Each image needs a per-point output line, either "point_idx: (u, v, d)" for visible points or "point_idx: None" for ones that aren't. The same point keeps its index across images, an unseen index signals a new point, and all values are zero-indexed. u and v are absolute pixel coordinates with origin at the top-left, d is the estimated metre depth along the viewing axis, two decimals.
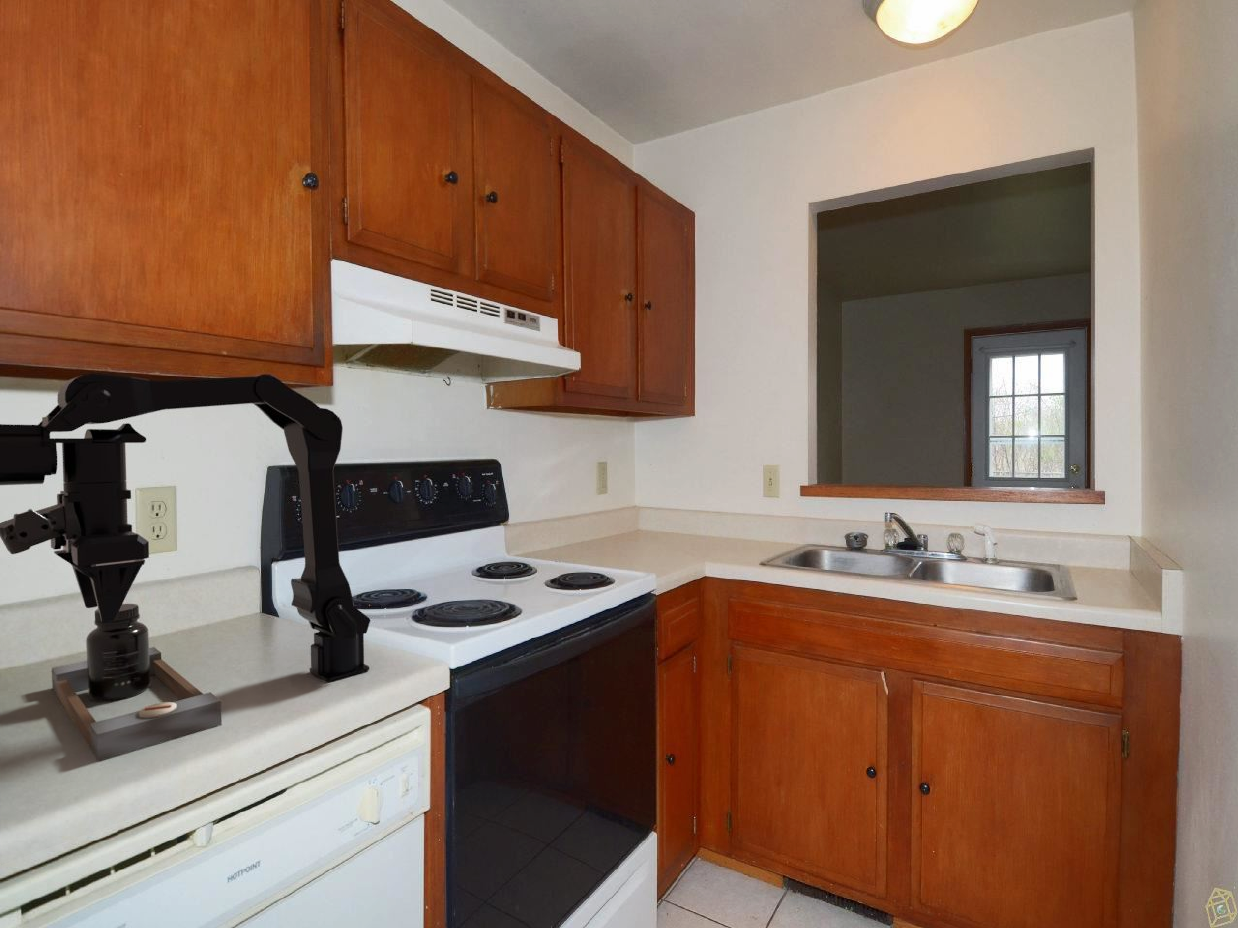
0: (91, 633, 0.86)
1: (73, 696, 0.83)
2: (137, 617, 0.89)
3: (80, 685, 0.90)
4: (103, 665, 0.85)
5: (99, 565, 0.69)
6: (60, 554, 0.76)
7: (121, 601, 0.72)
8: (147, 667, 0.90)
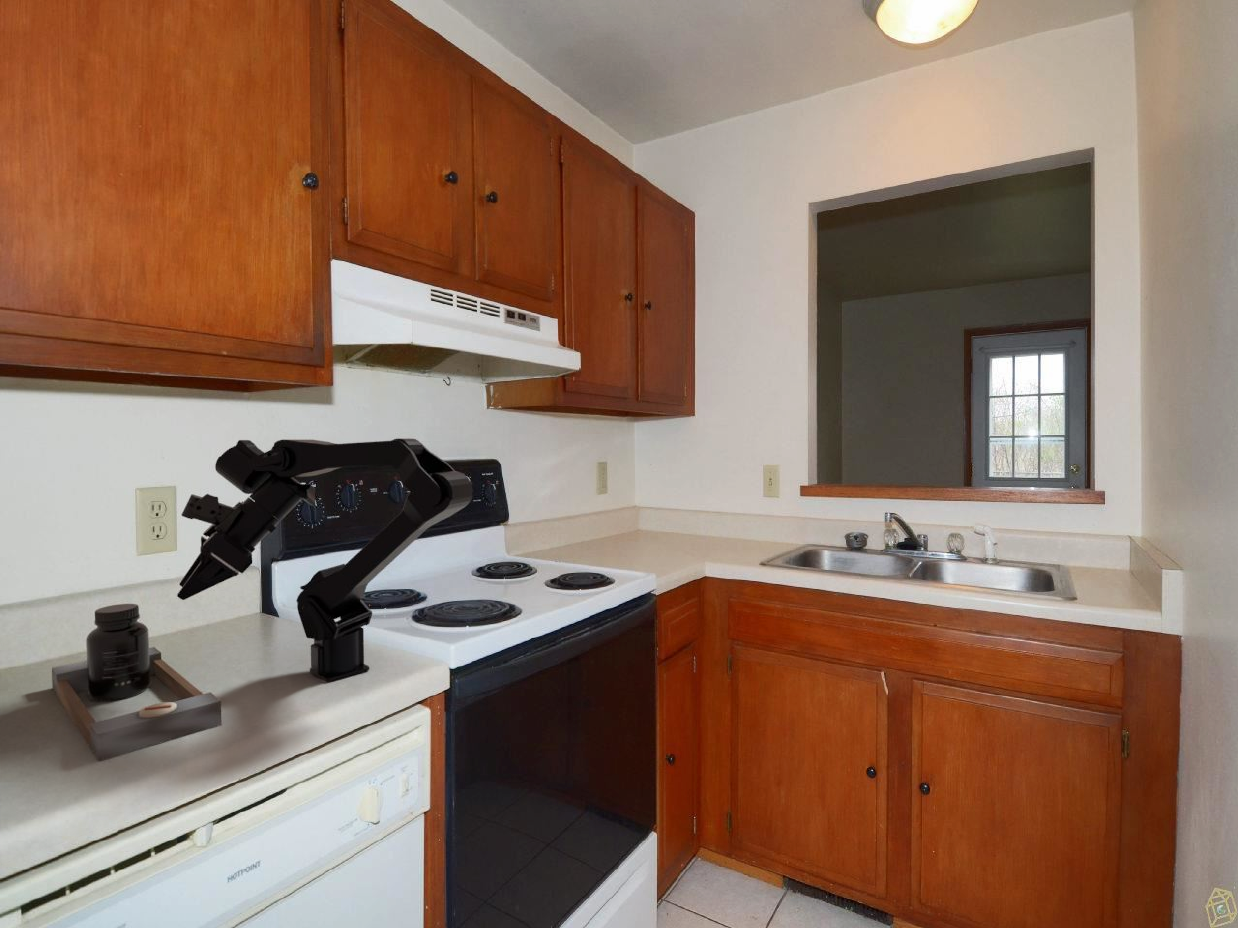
0: (91, 633, 0.86)
1: (73, 696, 0.83)
2: (137, 617, 0.89)
3: (80, 685, 0.90)
4: (103, 665, 0.85)
5: (213, 556, 0.87)
6: (202, 539, 0.98)
7: (199, 590, 0.89)
8: (147, 667, 0.90)
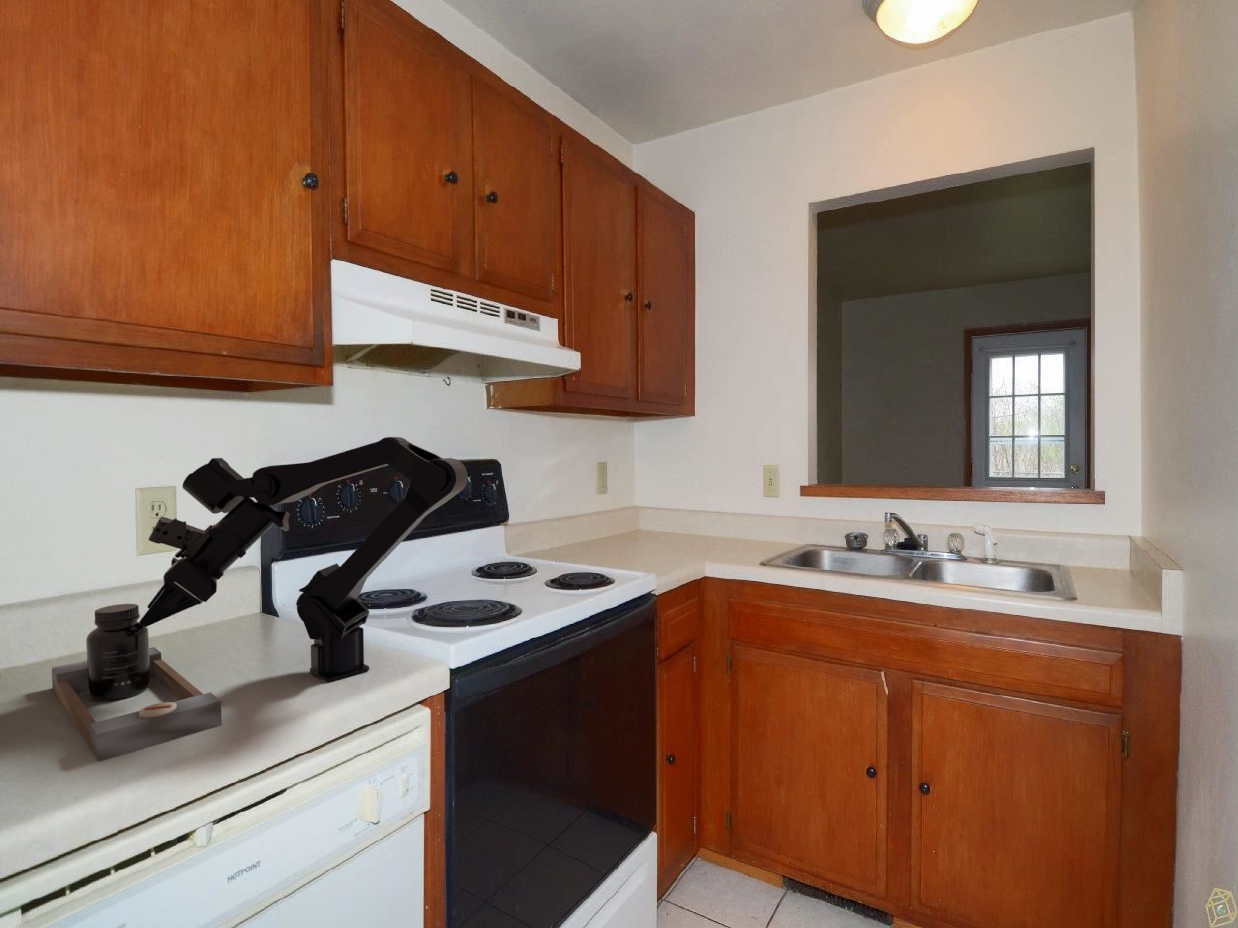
0: (91, 633, 0.86)
1: (73, 696, 0.83)
2: (137, 617, 0.89)
3: (80, 685, 0.90)
4: (103, 665, 0.85)
5: (176, 583, 0.85)
6: (173, 561, 0.96)
7: (162, 618, 0.87)
8: (147, 667, 0.90)
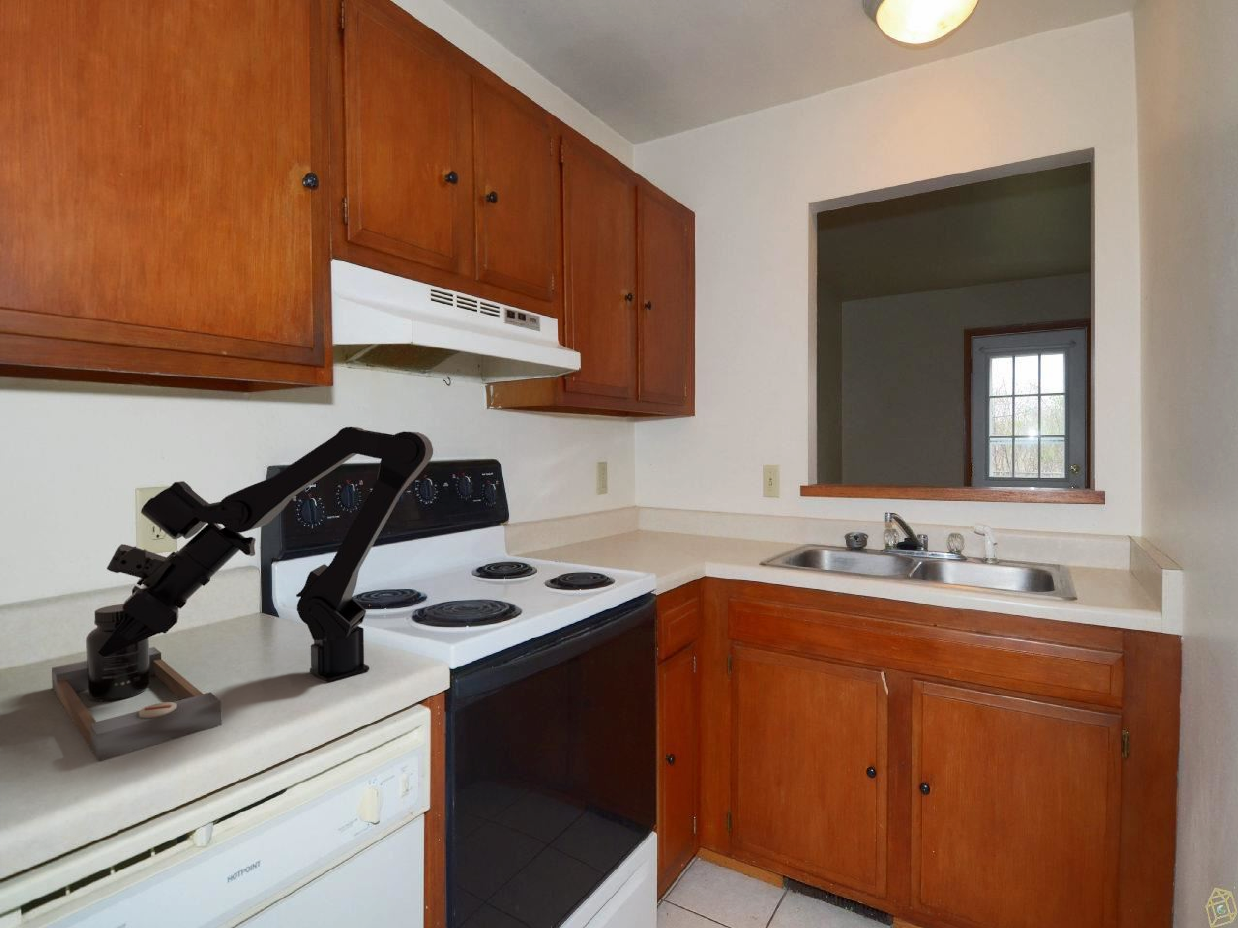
0: (91, 633, 0.86)
1: (73, 696, 0.83)
2: None
3: (80, 685, 0.90)
4: (103, 665, 0.85)
5: None
6: (134, 590, 0.93)
7: (122, 647, 0.85)
8: (147, 667, 0.90)
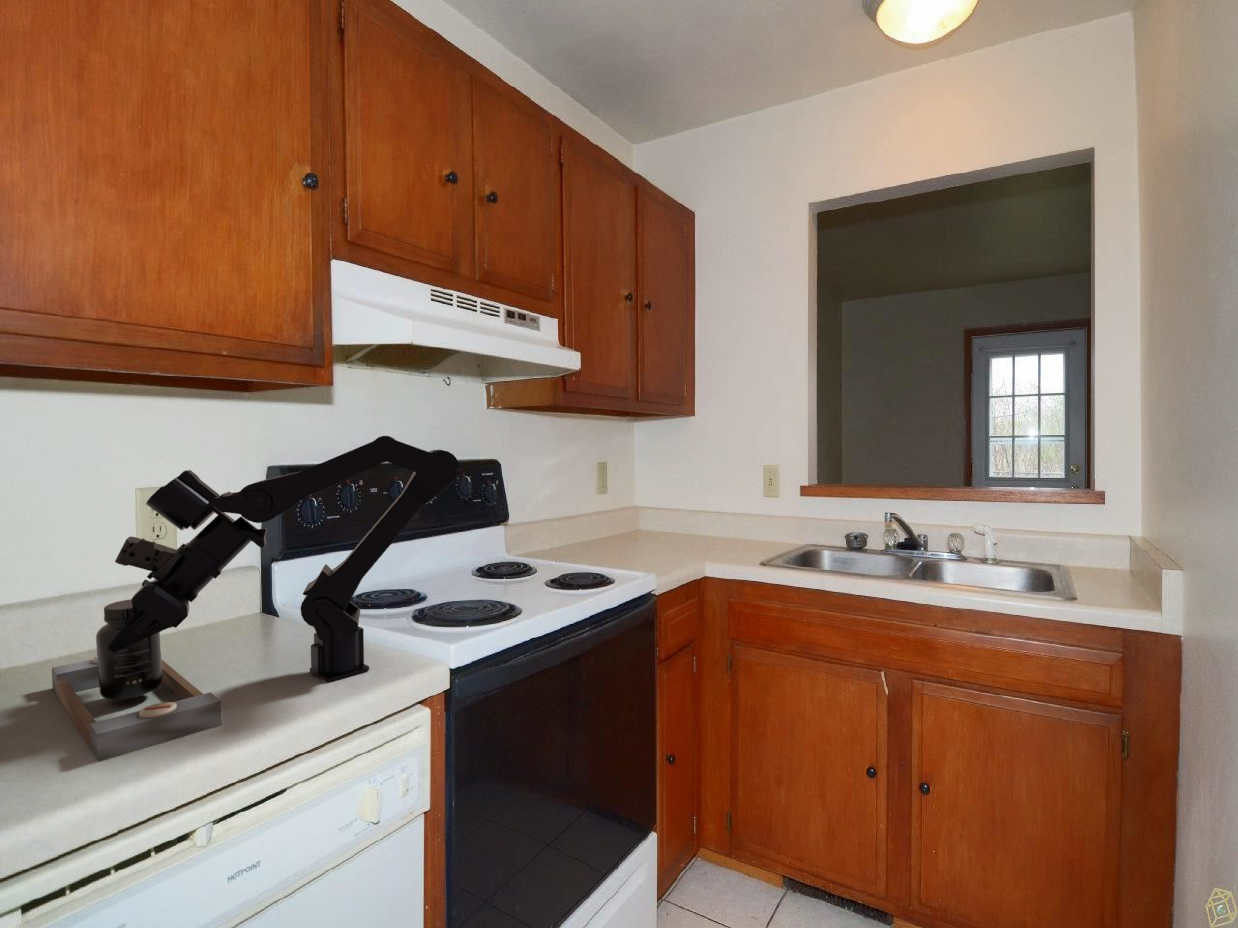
0: (101, 630, 0.83)
1: (73, 696, 0.83)
2: None
3: (80, 685, 0.90)
4: (114, 664, 0.83)
5: None
6: (144, 584, 0.90)
7: (132, 642, 0.83)
8: (159, 664, 0.87)
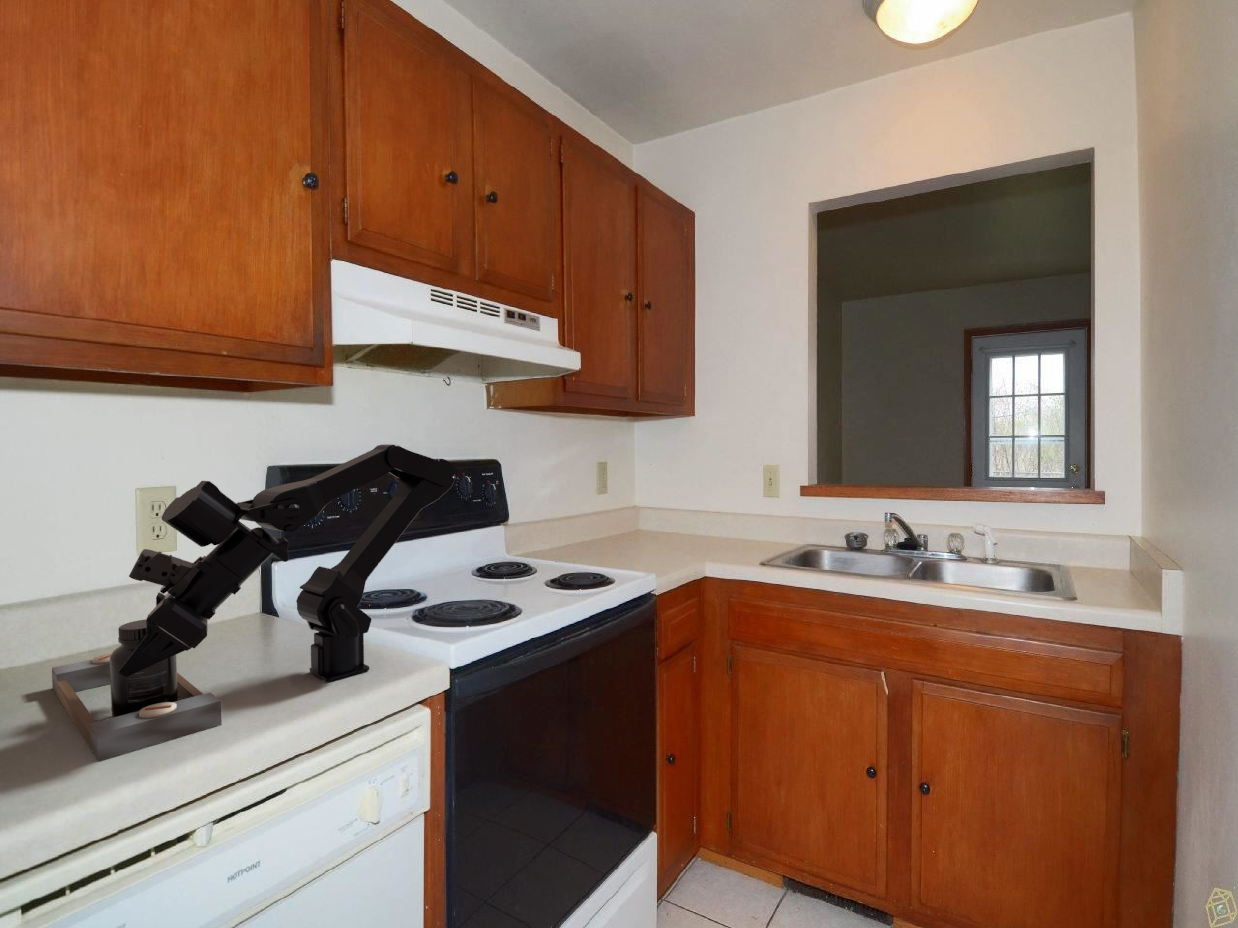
0: (115, 652, 0.79)
1: (73, 696, 0.83)
2: None
3: (80, 685, 0.90)
4: (129, 688, 0.78)
5: (160, 628, 0.75)
6: (158, 597, 0.85)
7: (145, 666, 0.76)
8: (175, 688, 0.82)
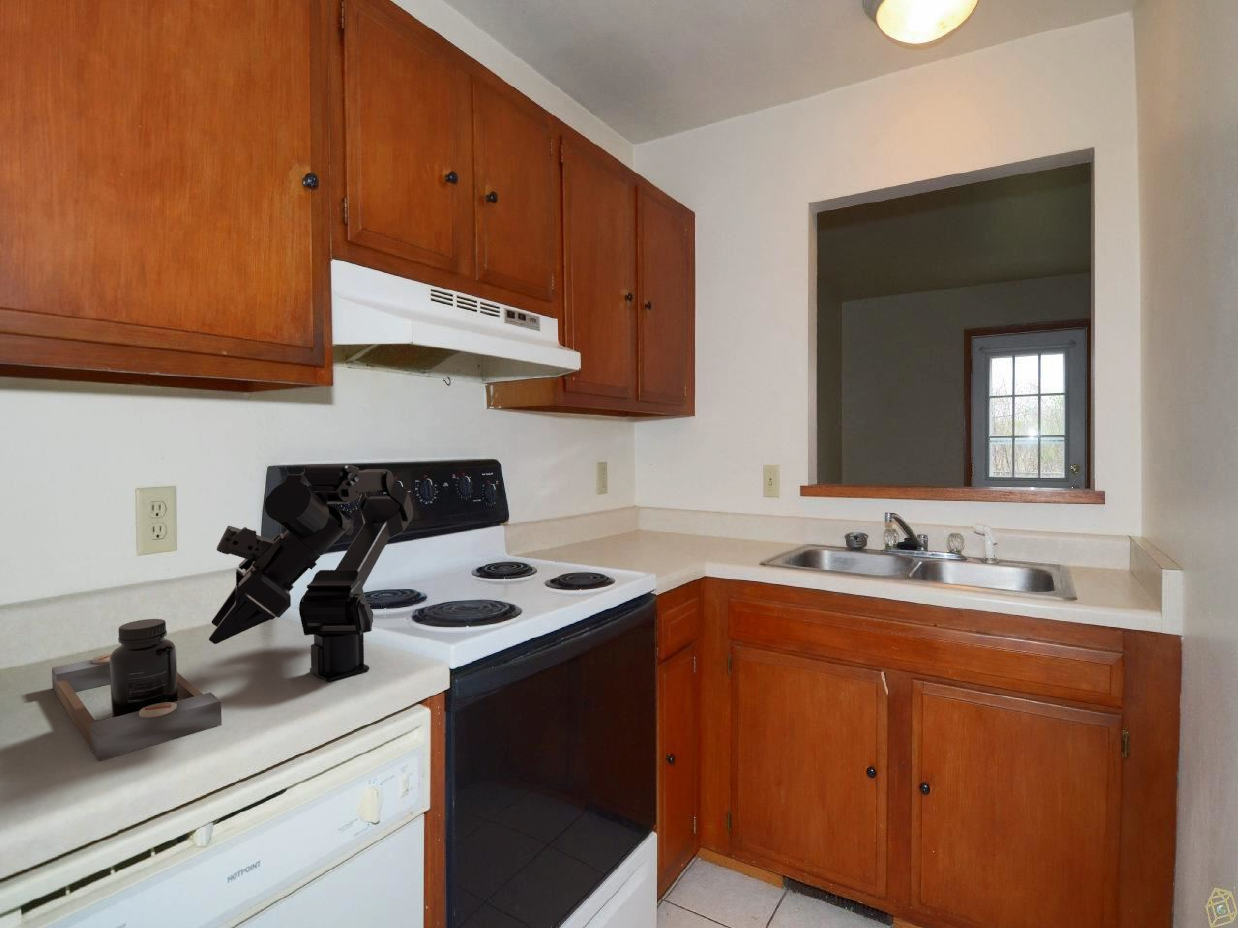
0: (115, 652, 0.79)
1: (73, 696, 0.83)
2: (164, 634, 0.81)
3: (80, 685, 0.90)
4: (129, 688, 0.78)
5: (249, 597, 0.79)
6: (238, 573, 0.90)
7: (233, 634, 0.81)
8: (175, 688, 0.82)
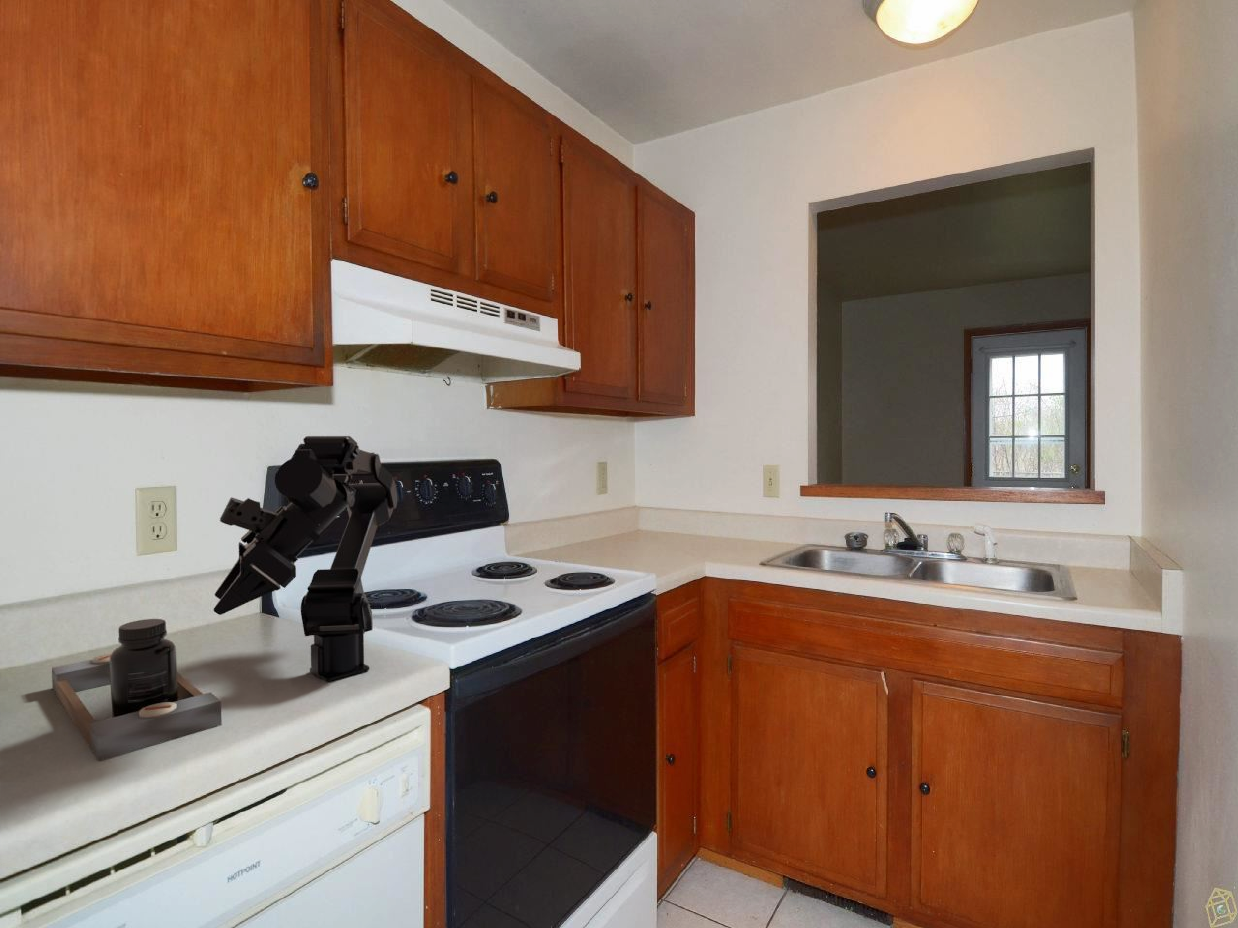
0: (115, 652, 0.79)
1: (73, 696, 0.83)
2: (164, 634, 0.81)
3: (80, 685, 0.90)
4: (129, 688, 0.78)
5: (254, 568, 0.79)
6: (240, 546, 0.90)
7: (238, 605, 0.80)
8: (175, 688, 0.82)
